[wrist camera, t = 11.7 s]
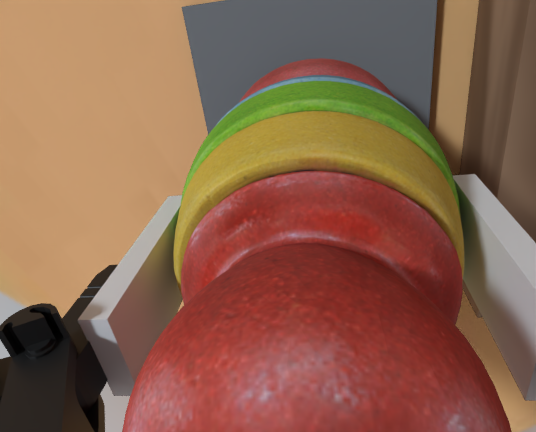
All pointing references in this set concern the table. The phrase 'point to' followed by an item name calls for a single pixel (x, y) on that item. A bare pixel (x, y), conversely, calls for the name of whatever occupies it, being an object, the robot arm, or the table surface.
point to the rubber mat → (311, 45)
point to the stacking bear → (317, 273)
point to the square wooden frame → (504, 110)
